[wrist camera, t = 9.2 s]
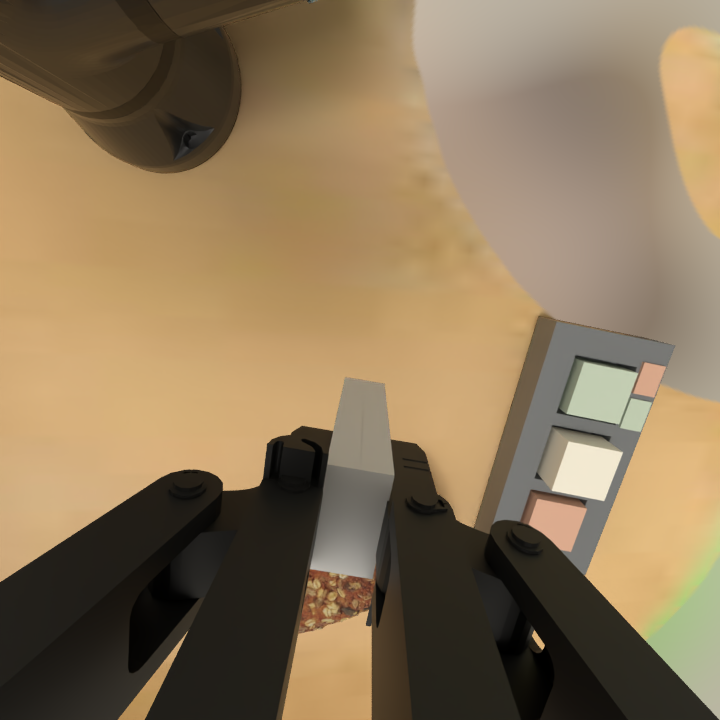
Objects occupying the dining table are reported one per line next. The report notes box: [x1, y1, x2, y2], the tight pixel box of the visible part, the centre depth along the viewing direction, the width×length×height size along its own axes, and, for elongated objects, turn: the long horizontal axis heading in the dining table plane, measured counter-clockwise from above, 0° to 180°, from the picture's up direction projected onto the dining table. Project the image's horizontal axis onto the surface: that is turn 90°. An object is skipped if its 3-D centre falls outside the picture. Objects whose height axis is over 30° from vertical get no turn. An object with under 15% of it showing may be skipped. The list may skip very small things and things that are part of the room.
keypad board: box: [474, 316, 675, 575], centre depth 40 cm, size 25×11×4 cm, turn 169°
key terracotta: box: [520, 489, 587, 552], centre depth 41 cm, size 5×5×4 cm
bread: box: [298, 565, 376, 634], centre depth 41 cm, size 19×11×10 cm, turn 114°
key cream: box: [537, 426, 623, 501], centre depth 38 cm, size 5×5×4 cm
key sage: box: [558, 356, 638, 424], centre depth 38 cm, size 5×5×4 cm
